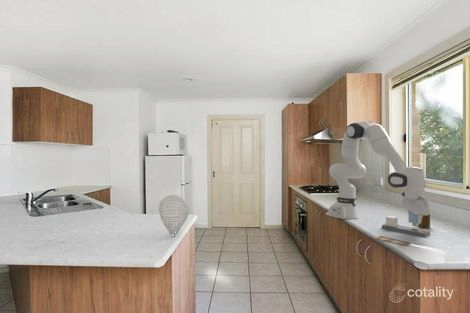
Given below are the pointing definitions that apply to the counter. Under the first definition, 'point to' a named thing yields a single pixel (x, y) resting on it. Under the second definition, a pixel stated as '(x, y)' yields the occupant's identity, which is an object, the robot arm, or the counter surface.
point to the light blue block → (413, 219)
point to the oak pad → (393, 241)
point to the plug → (392, 221)
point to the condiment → (425, 221)
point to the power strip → (407, 230)
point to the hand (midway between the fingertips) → (414, 219)
